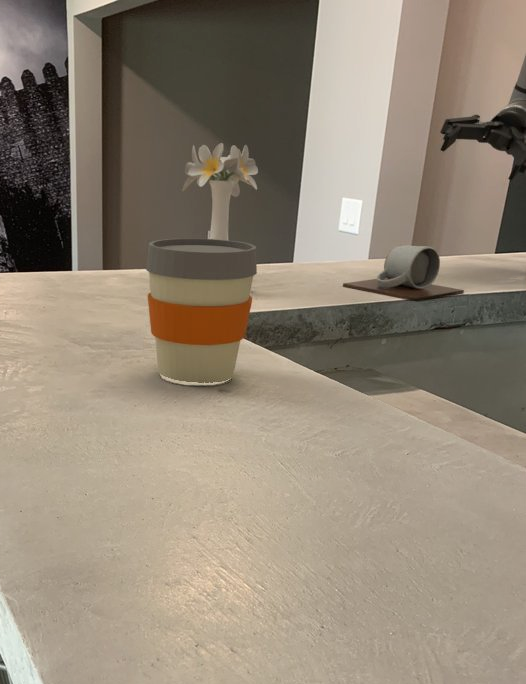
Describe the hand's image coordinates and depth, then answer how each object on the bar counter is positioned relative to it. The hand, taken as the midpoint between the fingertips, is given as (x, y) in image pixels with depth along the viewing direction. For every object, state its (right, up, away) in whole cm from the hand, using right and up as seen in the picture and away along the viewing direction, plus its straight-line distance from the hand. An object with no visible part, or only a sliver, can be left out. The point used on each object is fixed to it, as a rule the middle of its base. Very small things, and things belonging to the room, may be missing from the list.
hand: (478, 158), depth 141 cm
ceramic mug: (-12, -22, +7) cm, 26 cm away
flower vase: (-49, -24, +1) cm, 55 cm away
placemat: (-12, -22, +7) cm, 26 cm away
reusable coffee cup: (-55, -48, -49) cm, 88 cm away
